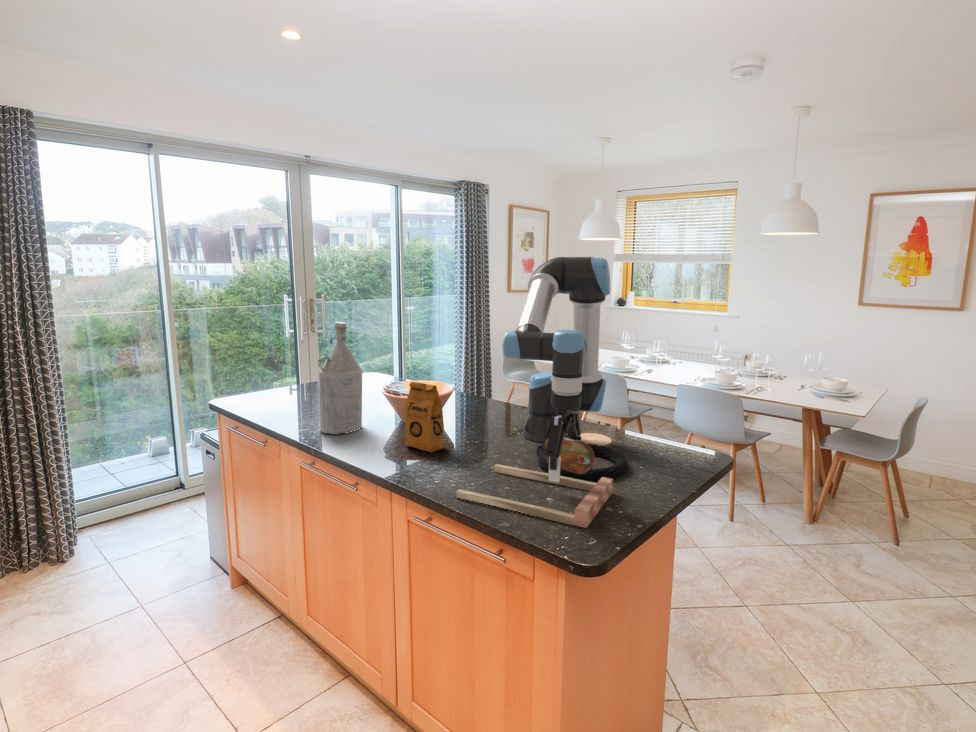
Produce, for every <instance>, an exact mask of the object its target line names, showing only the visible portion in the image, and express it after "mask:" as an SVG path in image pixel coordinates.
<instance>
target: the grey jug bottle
mask: <svg viewBox="0 0 976 732" xmlns="http://www.w3.org/2000/svg"><path fill="white" fill-rule="evenodd" d="M347 325H348V324H347V323H346V322H345V321H335V322H334V328H333V330H336V333H335V332H334V331H333V332H331V333H330V334H331V335H330V336H331V337H330V339H329V341H328V342H329V344H330V345H333V342H334V341H333V340H335V339H336V344H335V346H334V347H333V349H332V351H331V352H330V354H329V355H321V356H320V357H319V358H318V360H317V366H318V367H319V368H320V369H319V371H318V375H319V376H318V379H319V380H318V381H319V382H318V385H319V388H318V389H319V423H320V425H319V426H320V430H319V431H320V432H321V433H323V432H324V433H323V434H327V433H331V434H330V435H340V434H339V433H345V434H347V433H346V432H350V433H352V432H351V431H354V430H357V429H359V428H361V429H362V427H363V423H362V422H363V421H362V420H363V417H362V416H363V369H362V368H361V366H360V365H359V363H358V362H357V360H356V359H355V357H354V356H353V354H352V352H351V351H350V350H349V348H348V346H347V344H346V340H347V337H346V334H347V329H348V327H347ZM333 334H334V335H335V337H333ZM323 358H326V360H325V361H324V363H323V364H322V360H323ZM359 430H360V429H359ZM357 431H358V430H357ZM354 432H355V431H354Z"/></svg>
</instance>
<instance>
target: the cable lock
mask: <svg viewBox="0 0 976 732" xmlns="http://www.w3.org/2000/svg"><path fill="white" fill-rule="evenodd" d="M587 444H588V445H589V446H590V447H591V448H592V449H593V451H594V454H595V455H596V456H595V457H602V458H603V457H604V458H603V459H605V460H608V461H611V462H612V463H614V465H611V466H608V467H600V468H592V469H590V470H589V471H587V472H586V473H584V474H576V473H573V472H570V471H566V470H563V469H560V476H563V477H568V478H574V479H579V480H584V481H589V482H595V481H596V482H598V481H599V480H600V479H601V478H602V477H606V478H611V479H615V478H619V477H620V476H622V475H624V474H625V473H626V472H627V470H628V469H629V468H628V467H629V462H628V461H629V460H628V459H627V458H626V456H625V455H623V454H622V453H620V452H619V451H618V450H615V449H613V448H610V447H608V446H603V445H599V444H593V443H587ZM543 445H544V443H543V444H542V443H538V444H537V446H536V449H535V451H536V452H535V453H536V455H537V463H538V464H539V466H540V468H542V470H544V471H545V472H546V473H549V463H548V462H547V461H546V459H545V457H544V454H543Z"/></svg>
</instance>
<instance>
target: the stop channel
mask: <svg viewBox="0 0 976 732" xmlns="http://www.w3.org/2000/svg"><path fill="white" fill-rule="evenodd" d="M493 473H499V474H502V475H509V476H512V477H519V478H522V479H527V480H533V481H538V482H543V483H548V484H554V485H559V486H563V487H568V488H569V487H570V488H573V489H579V490H584V491H589V492H588V493H587V494H586V495H585V496H584V498H583V499H582V500H581V501H580V502H579V503H578V505H577V506H576V507H575V508H574V513H571V512H566V511H562V510H558V509H557V510H556V509H552V508H547V507H543V506H540V505H539V506H537V505H534V504H529V503H525V502H521V501H516V500H512V499H508V498H507V499H506V498H504V497H502V498H501V497H497V496H493V495H489V494H485V493H479V492H475V491H470V490H467V489H462V488H459V489H457V490H456V497H457V498H461V499H460V500H462V499H466V500H470V501H469V502H471V501H475V502H479V503H484V504H489V505H492V506H497V507H501V508H505V509H509V510H508V511H510V510H513V511H512V512H514V511H518V512H521V513H520V514H523V513H525V514H524V515H527V514H529V515H528V516H532V517H536V516H537V518H540V517H541V519H545V520H550V521H553V522H557V523H563V524H567V525H571V526H577V527H580V528H584V529H587V528H588V527H589V525H590V524H591V523H592V521H593V520H594V519H595V517H596V515H598V513H599V511H601V509H602V508H603V506H604V505H605V503H606V502H607V501H608V499H609V498H610V497H611V496H612V494H613V487H614V486H613V484H614V478H612V479H611V478H606V477H602V478H601V479H600V480H599V481H596V482H595V481H584V480H579V479H574V478H568V477H563V476H560V482H559V483H558V482H553V481H548V477H549V473H548V472H541V471H537V470H531V469H525V468H520V467H516V466H510V465H504V464H499V463H496V464H494V465H493ZM457 498H456V499H457ZM466 500H465V501H466ZM475 502H474V503H475ZM479 503H478V504H479ZM484 504H483V505H484ZM492 506H491V507H492ZM497 507H496V508H497ZM501 508H500V509H501ZM505 509H504V510H505ZM518 512H517V513H518Z"/></svg>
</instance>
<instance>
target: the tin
mask: <svg viewBox="0 0 976 732" xmlns="http://www.w3.org/2000/svg"><path fill="white" fill-rule="evenodd" d="M543 444H544V445H543ZM543 444H542V445H543V454H544V457H545V459H546V461H547V462H548V463H549V457H548V456H546V455H545V453H546V450H547V445H548V439H547V440H546V441H545V442H543ZM588 444H589V443H586V441H582V440H581V441H580V440H574V439H570V438H569V437H566V436H565V437H564V440H563V443H562V447H561V451H560V455H559V456H560V457H561V462H560V469H563V470H566V471H570V472H573V473H576V474H584V473H586V472H587V471H589V470H590V469H593V467H594V466H595V463H596V456H595V454H594V451H593V449H592V448H591V447H590V446H589V445H588ZM552 452H553V451H552Z"/></svg>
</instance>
